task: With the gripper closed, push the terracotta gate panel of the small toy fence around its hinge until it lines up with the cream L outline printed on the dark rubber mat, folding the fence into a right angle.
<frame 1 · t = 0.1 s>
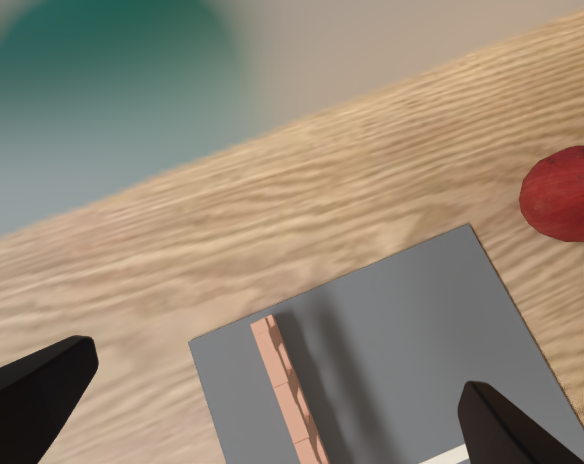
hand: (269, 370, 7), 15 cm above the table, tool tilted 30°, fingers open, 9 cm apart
fence gate: (303, 425, 18), point 3 cm above the table, hinge at 0.0°
onion: (532, 211, 23), on the table
layout mat: (397, 438, 20), on the table
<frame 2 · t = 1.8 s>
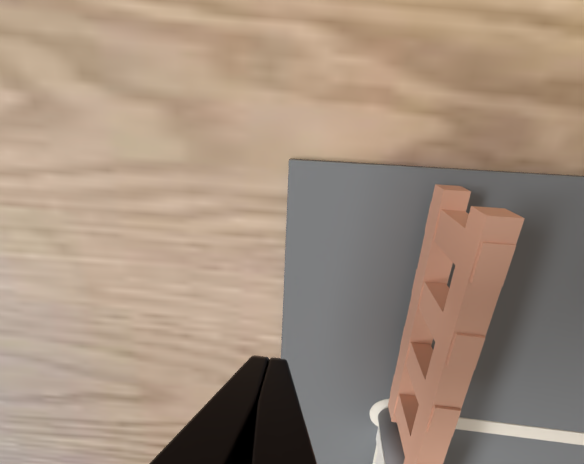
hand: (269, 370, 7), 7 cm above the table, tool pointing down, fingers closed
fence gate: (426, 361, 12), point 3 cm above the table, hinge at 0.0°
layout mat: (496, 392, 15), on the table
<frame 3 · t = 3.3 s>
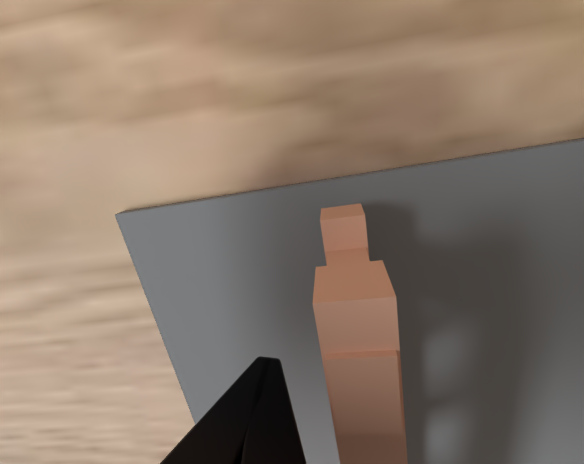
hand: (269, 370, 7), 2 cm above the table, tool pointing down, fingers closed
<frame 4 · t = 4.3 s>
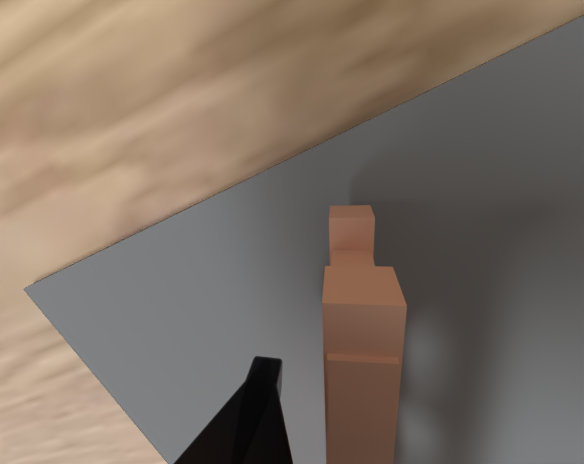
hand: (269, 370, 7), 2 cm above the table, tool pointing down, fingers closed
layout mat: (462, 446, 10), on the table
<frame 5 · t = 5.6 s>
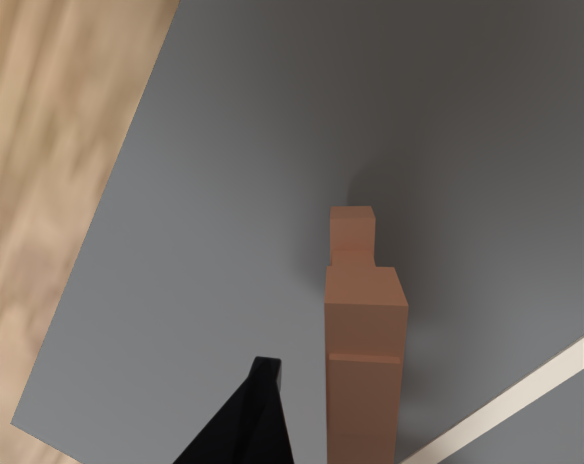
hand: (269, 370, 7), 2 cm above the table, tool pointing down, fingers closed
layout mat: (388, 409, 10), on the table
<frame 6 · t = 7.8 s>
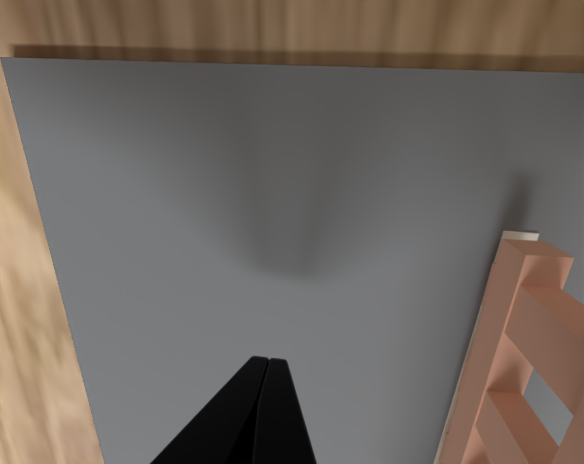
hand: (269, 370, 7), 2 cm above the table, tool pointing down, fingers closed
layout mat: (388, 427, 11), on the table
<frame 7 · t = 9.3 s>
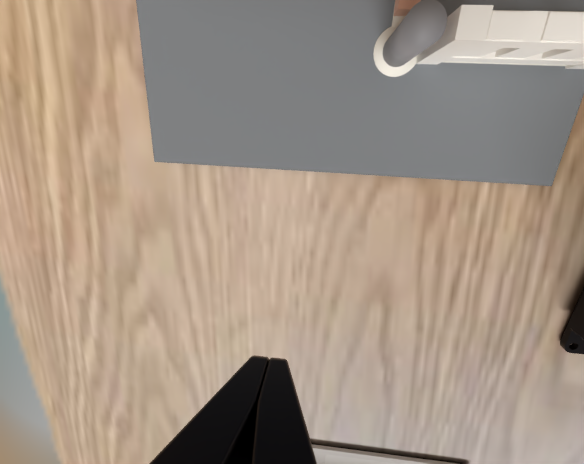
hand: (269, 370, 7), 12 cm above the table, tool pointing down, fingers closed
fence fixed: (498, 54, 14), resting on layout mat
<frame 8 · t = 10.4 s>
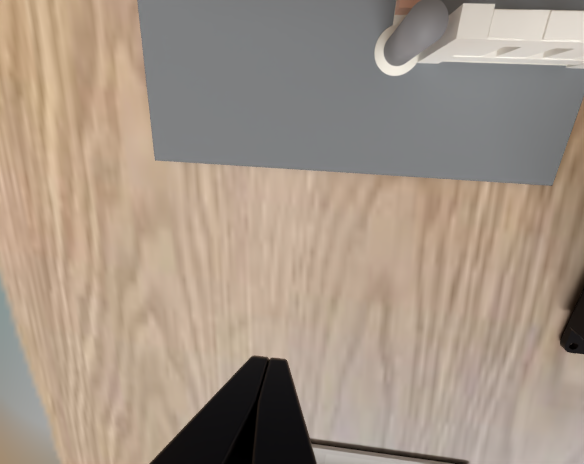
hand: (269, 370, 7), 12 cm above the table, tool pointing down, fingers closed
fence fixed: (499, 53, 14), resting on layout mat
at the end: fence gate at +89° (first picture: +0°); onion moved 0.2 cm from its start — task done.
